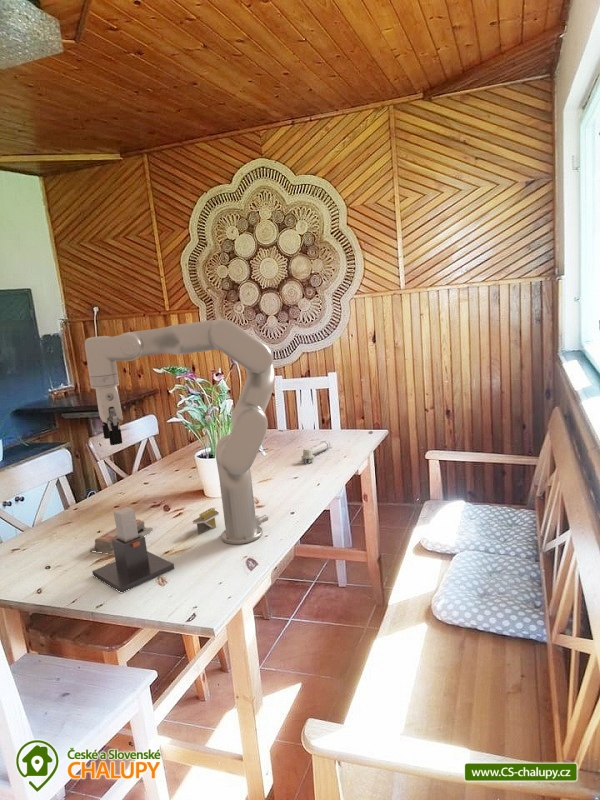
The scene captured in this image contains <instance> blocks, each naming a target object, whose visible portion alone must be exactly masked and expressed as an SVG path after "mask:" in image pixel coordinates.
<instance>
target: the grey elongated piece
mask: <svg viewBox="0 0 600 800" xmlns="http://www.w3.org/2000/svg"><path fill="white" fill-rule="evenodd" d="M328 448H329V449H330V448H331V442H329V441H328V440H323V441H320V442H319V443H317V444H316V445H314V446H311V447H310V448H304V449H303V452H302V455H301V460H302V464H310V463H311V464H313V463H314V458H315V455H317V454H319V453H322V452H324V450H326V451H328V450H329V449H328Z"/></svg>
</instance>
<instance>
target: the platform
mask: <svg viewBox="0 0 600 800" xmlns="http://www.w3.org/2000/svg"><path fill="white" fill-rule="evenodd" d="M219 515H220V512H219V511H217V510H216V508H213V507H210V508H208V509H207V510H205V511H203V512H201V513H199V515H198V516H199V517H198V518H196V519H194V520H193V521H192V524H194V525H196V528H197V533H198V534H197V535H199V536H200V535H201V534H203V533H204V532H206V531H208V530H210V529H212V528H213V529H215V528H217V526H216V517H218V516H219Z"/></svg>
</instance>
